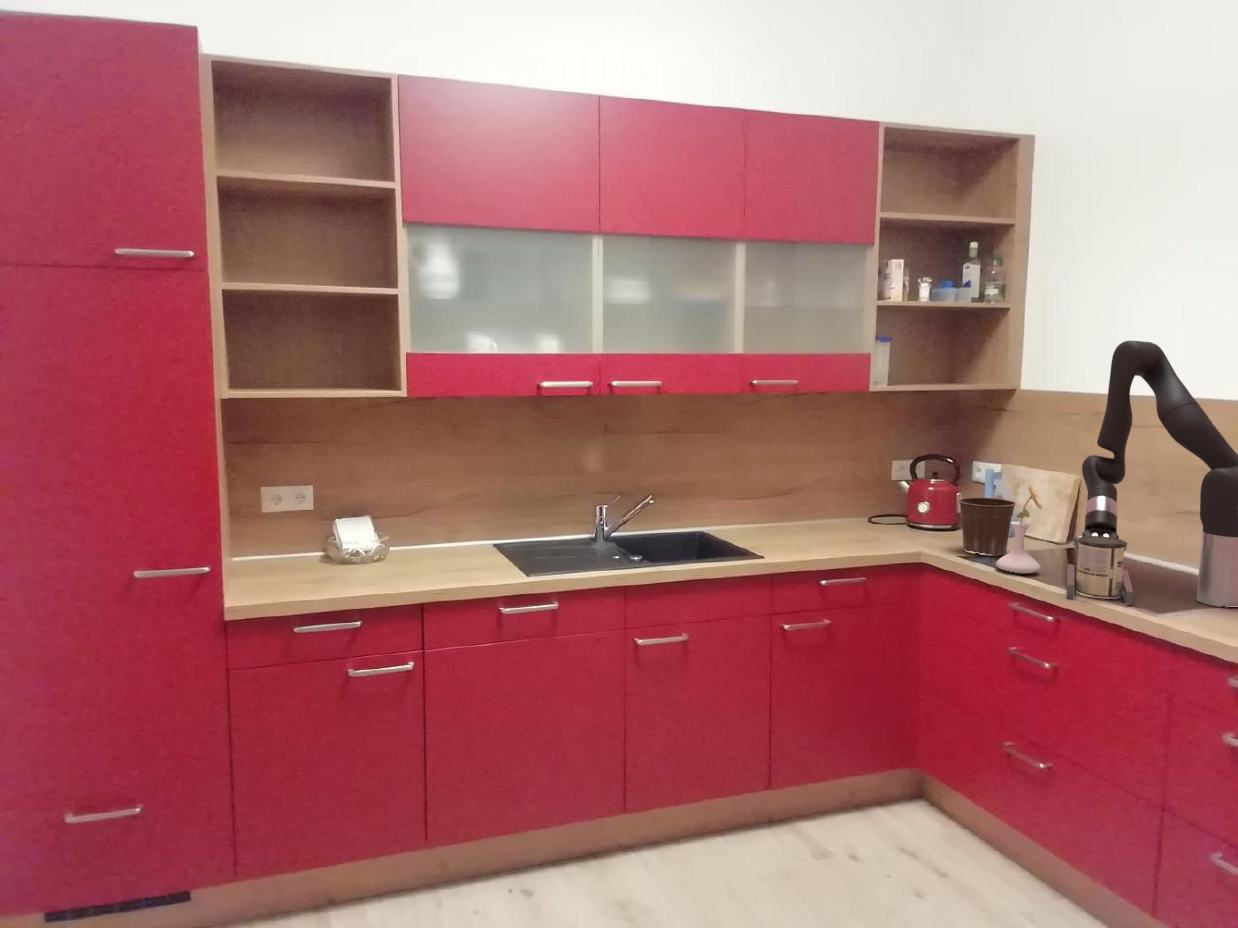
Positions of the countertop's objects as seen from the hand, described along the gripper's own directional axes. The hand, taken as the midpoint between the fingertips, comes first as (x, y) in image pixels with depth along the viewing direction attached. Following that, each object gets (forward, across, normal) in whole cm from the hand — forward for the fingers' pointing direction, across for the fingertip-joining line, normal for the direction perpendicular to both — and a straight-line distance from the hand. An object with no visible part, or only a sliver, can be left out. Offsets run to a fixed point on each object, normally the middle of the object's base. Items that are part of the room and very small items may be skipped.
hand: (1098, 571), depth 222 cm
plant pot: (-20, -30, +28) cm, 46 cm away
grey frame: (+4, 0, +3) cm, 5 cm away
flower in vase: (-5, -19, +12) cm, 23 cm away
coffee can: (+8, 0, 0) cm, 8 cm away
